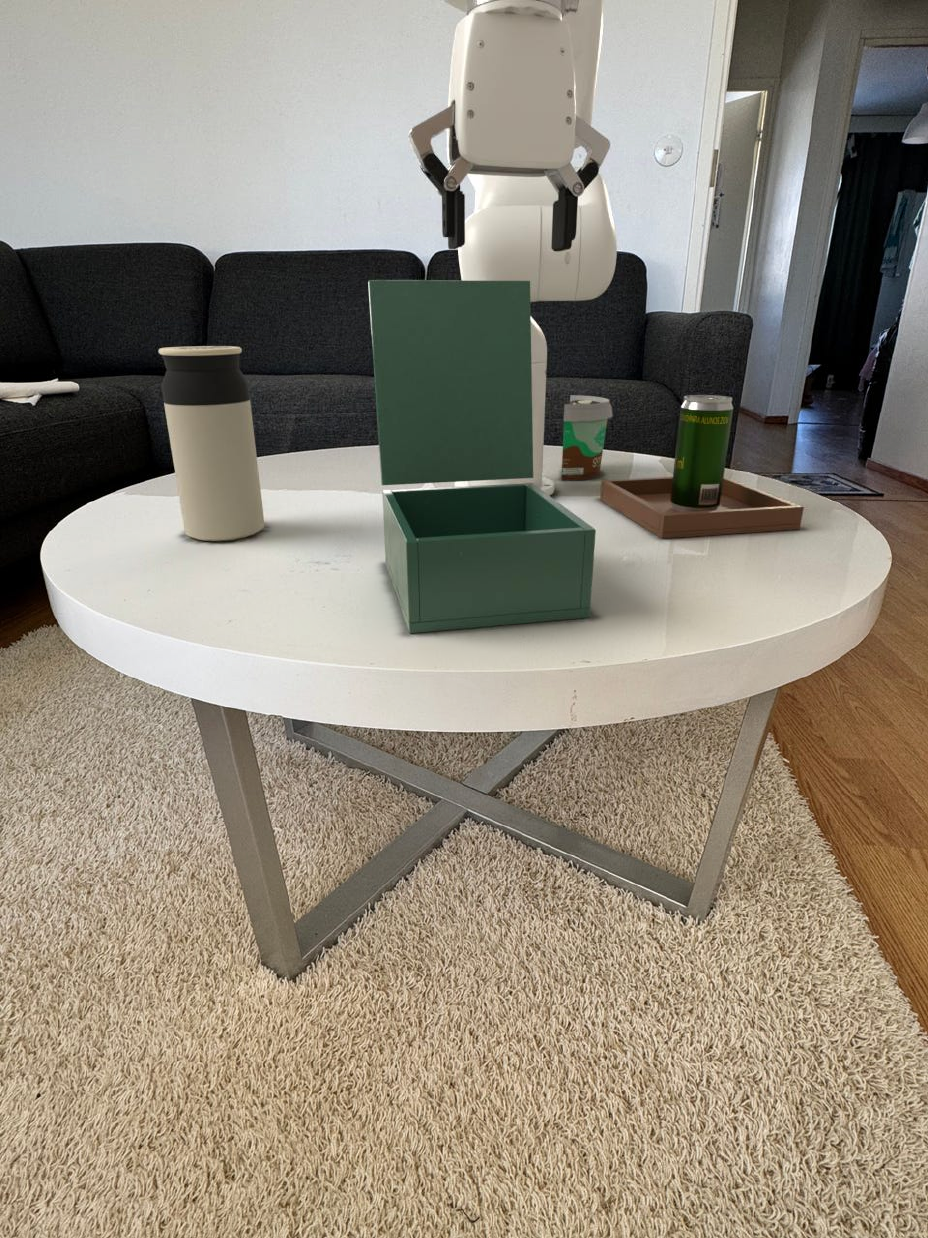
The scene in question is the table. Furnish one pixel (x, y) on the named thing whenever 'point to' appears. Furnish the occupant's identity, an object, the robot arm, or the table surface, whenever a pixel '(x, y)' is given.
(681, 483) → the beer can
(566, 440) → the food container
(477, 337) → the lid
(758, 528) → the tray
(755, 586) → the table surface
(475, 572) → the green box
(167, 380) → the travel mug
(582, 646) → the table surface
